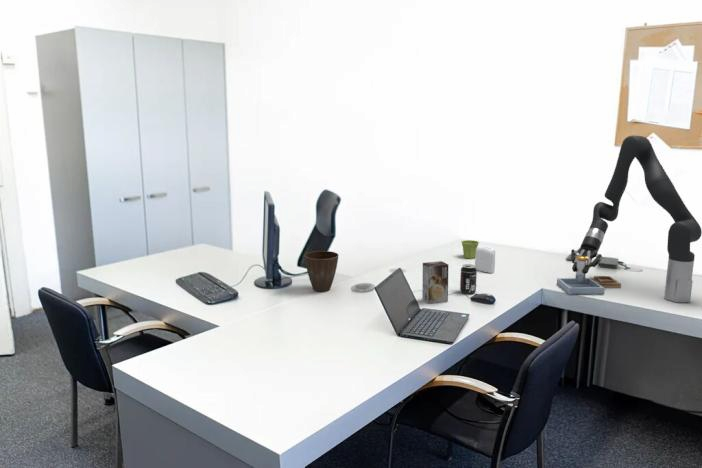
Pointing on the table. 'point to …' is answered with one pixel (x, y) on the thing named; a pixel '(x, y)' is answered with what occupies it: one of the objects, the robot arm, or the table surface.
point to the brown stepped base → (606, 281)
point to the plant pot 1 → (321, 269)
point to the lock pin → (580, 269)
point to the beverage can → (468, 279)
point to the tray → (580, 286)
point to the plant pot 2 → (469, 248)
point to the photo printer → (485, 259)
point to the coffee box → (435, 282)
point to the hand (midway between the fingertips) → (579, 271)
